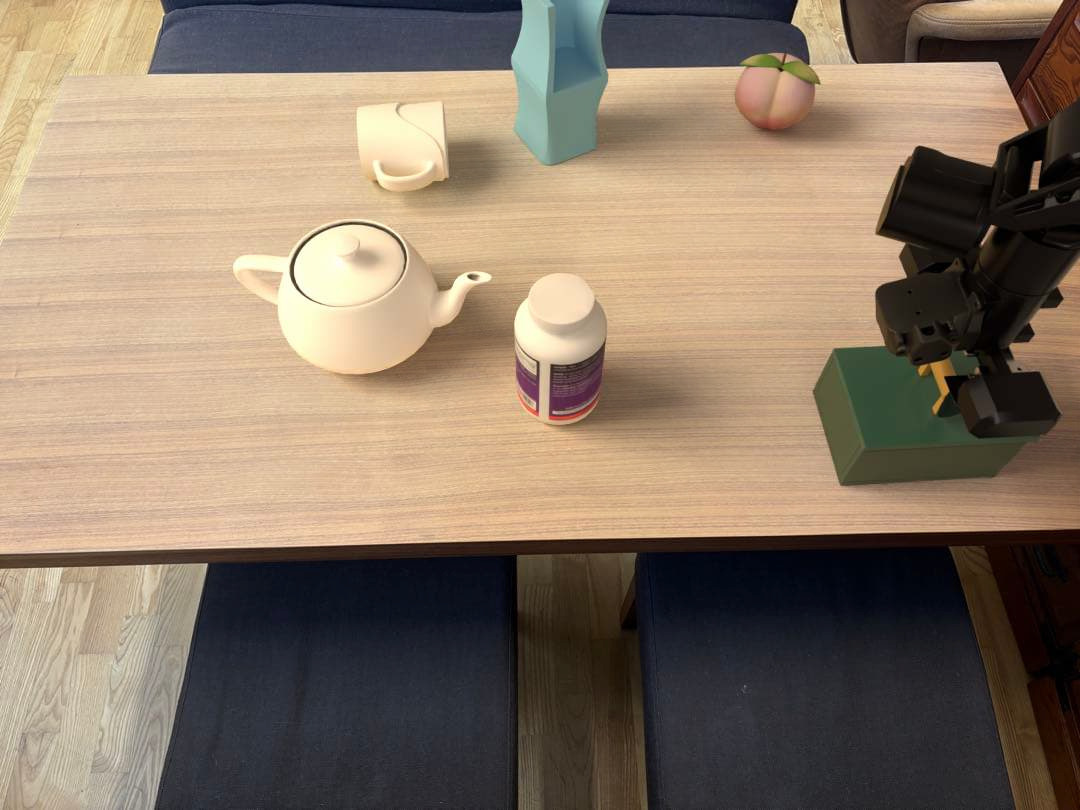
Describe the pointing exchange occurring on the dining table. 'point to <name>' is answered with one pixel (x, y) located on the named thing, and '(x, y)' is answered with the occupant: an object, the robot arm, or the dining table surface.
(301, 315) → the teapot
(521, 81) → the vase
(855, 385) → the tin lid
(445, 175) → the mug
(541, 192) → the dining table surface
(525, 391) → the pill bottle
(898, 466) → the tea tin
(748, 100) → the decorative fruit
